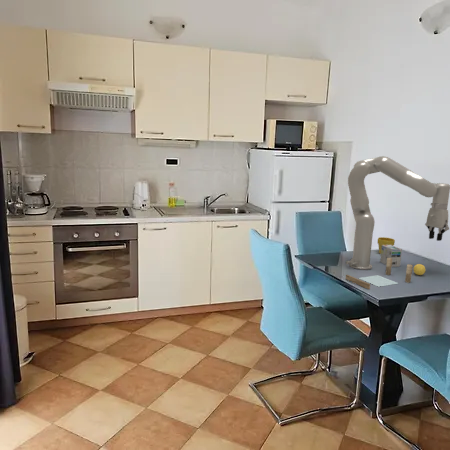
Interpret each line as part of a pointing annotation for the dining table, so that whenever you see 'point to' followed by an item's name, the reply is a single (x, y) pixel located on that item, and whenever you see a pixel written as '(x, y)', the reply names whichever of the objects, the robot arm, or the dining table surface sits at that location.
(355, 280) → the stopper wall
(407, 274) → the post right
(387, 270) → the post left
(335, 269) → the dining table surface
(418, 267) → the ball
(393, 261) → the light bulb box
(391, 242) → the plant pot
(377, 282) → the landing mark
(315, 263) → the dining table surface
